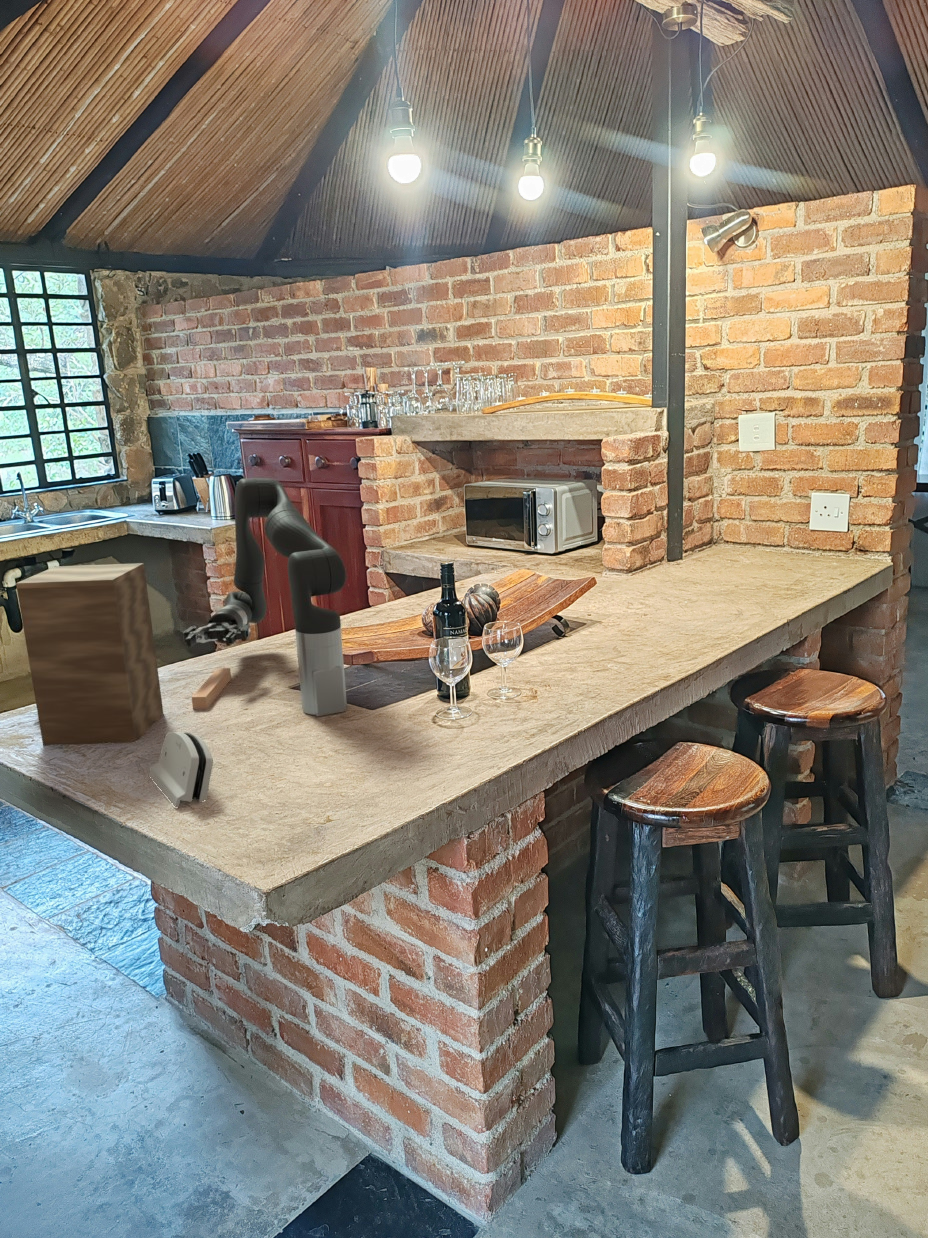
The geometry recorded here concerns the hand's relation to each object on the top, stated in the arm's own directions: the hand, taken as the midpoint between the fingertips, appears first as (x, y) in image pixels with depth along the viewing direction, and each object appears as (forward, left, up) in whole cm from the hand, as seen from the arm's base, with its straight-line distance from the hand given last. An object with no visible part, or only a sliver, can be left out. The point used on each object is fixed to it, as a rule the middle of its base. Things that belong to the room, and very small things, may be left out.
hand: (208, 642), depth 199 cm
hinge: (-48, +15, -12) cm, 52 cm away
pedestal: (-11, +24, -11) cm, 29 cm away
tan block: (-1, 0, -12) cm, 12 cm away
